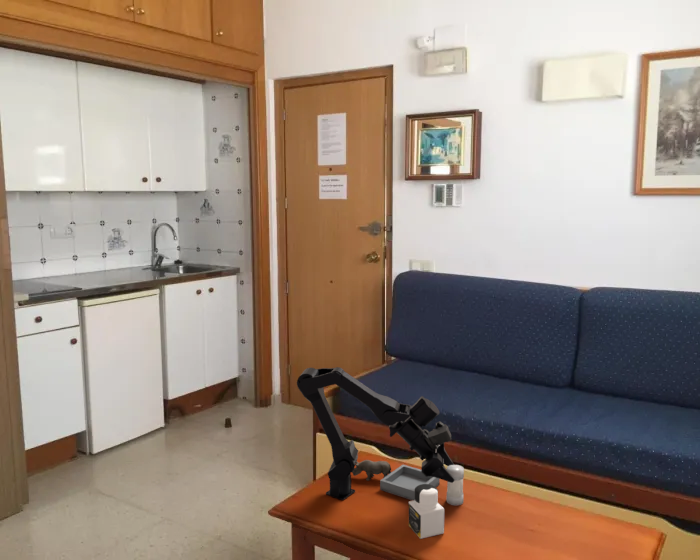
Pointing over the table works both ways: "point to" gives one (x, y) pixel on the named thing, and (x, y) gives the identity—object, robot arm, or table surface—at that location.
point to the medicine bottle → (426, 512)
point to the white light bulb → (455, 485)
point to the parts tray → (406, 481)
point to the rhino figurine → (372, 468)
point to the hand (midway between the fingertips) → (453, 474)
